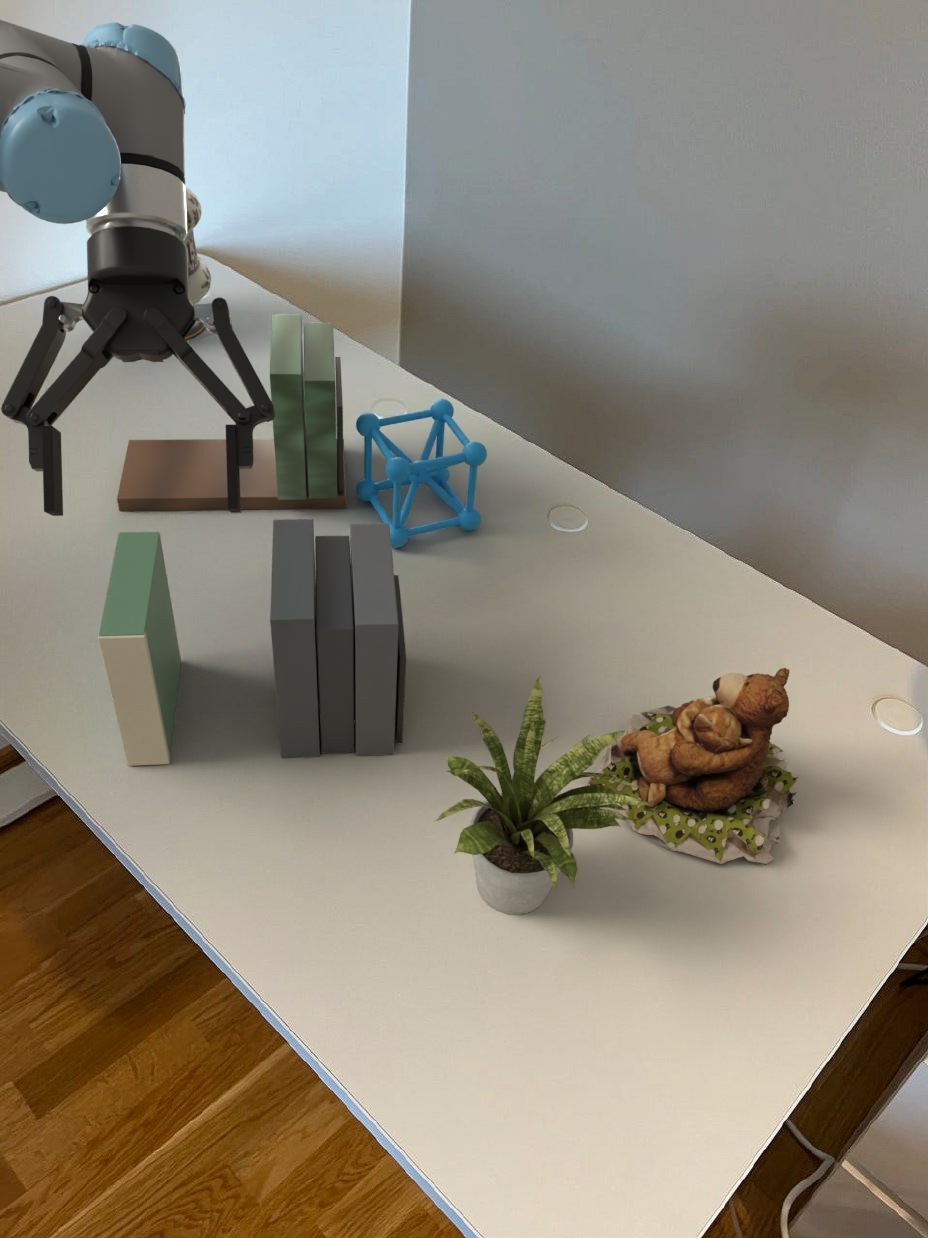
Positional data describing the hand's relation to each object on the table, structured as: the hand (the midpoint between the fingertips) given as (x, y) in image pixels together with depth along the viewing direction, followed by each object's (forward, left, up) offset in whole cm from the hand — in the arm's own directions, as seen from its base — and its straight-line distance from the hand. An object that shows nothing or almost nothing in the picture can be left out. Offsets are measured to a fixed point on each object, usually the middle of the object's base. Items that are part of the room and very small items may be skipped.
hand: (145, 512), depth 83 cm
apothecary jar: (-5, +55, -14) cm, 56 cm away
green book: (0, -8, -13) cm, 16 cm away
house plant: (+26, -27, -14) cm, 40 cm away
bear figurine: (+42, -18, -14) cm, 48 cm away
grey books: (+15, -8, -13) cm, 22 cm away
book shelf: (+5, +23, -13) cm, 27 cm away
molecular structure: (+23, +17, -14) cm, 31 cm away
